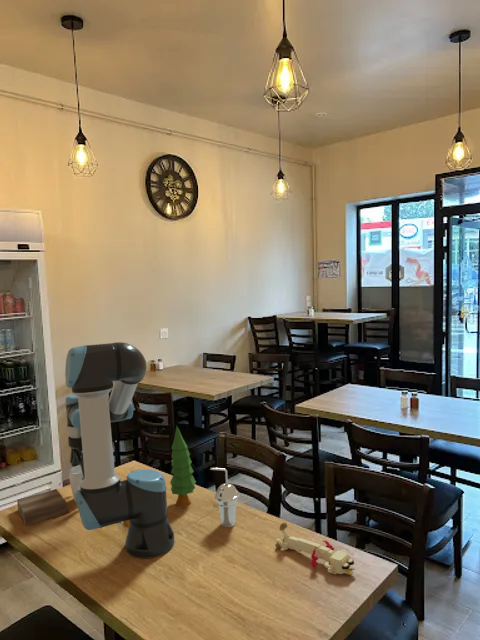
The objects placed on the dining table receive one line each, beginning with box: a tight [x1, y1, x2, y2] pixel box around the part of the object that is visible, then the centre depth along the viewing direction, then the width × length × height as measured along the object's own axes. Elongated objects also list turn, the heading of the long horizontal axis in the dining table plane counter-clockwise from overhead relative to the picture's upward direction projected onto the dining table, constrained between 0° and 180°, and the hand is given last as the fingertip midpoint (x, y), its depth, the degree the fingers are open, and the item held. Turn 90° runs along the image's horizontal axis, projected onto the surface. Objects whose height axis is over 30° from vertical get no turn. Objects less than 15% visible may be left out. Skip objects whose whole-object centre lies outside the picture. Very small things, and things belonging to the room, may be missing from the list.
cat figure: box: [275, 521, 356, 576], centre depth 138 cm, size 10×9×25 cm
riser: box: [16, 488, 68, 526], centre depth 174 cm, size 14×14×4 cm
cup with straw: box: [209, 467, 241, 528], centre depth 159 cm, size 8×9×20 cm
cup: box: [68, 465, 84, 503], centre depth 182 cm, size 9×9×12 cm
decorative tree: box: [170, 425, 197, 508], centre depth 175 cm, size 10×9×30 cm
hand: (82, 488), depth 183 cm, fingers open, 13 cm apart
